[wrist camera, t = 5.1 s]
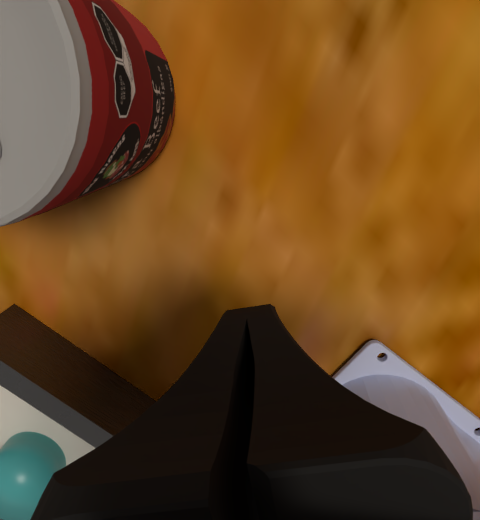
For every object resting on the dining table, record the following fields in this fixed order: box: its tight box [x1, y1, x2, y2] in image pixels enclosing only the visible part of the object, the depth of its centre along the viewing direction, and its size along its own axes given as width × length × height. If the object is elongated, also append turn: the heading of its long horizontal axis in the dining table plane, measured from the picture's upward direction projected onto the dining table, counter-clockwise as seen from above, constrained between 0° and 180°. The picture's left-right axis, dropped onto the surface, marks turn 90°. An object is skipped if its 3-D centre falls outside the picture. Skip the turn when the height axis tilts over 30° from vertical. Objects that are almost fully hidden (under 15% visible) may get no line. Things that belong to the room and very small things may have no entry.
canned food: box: [0, 0, 175, 226], centre depth 16 cm, size 8×8×11 cm
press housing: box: [0, 304, 156, 520], centre depth 25 cm, size 12×12×4 cm
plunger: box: [0, 385, 95, 520], centre depth 24 cm, size 9×9×4 cm
